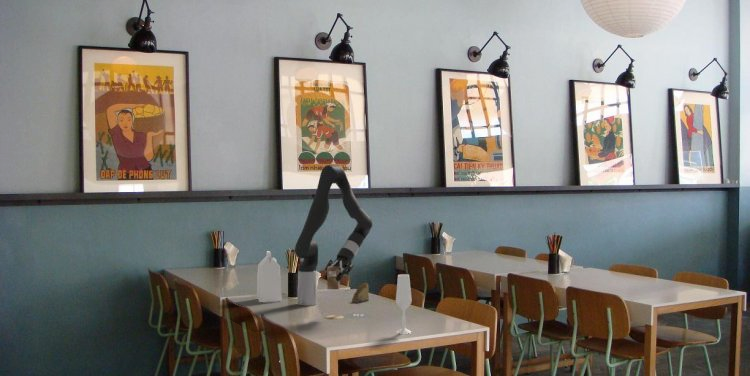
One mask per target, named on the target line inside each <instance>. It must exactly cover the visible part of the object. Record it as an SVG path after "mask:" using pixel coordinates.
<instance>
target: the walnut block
mask: <svg viewBox="0 0 750 376" xmlns="http://www.w3.org/2000/svg"><path fill="white" fill-rule="evenodd" d="M326 272H327V280H326V281H327V284H326V289H327V290H339V289H340V288H341V285H340V284H341V282H340V281H341V280H340V281H337V280H336V277H337V275H338V274H339V273H340V269H339V267H337V266H329V267H327V271H326Z"/></svg>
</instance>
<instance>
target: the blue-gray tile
mask: <svg viewBox="0 0 750 376" xmlns="http://www.w3.org/2000/svg"><path fill="white" fill-rule="evenodd" d="M372 316H373V312H347V313H346V314H345V316H344V318H355V319H356V318H357V319H358V318H362V319H364V318H366V319H369V318H370V319H371V317H372Z"/></svg>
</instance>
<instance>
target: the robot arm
mask: <svg viewBox="0 0 750 376" xmlns="http://www.w3.org/2000/svg"><path fill="white" fill-rule="evenodd" d="M333 184H336V186H337V187H338V188H339V191H340V193H341V196H342V197H341V198H342V204H343V207H344V209H345V211H346V212H347V214H348V216H349V217H350V218H351V219H354V220H355V221H356V223H357V224H356V226H355V227H354V229H353V231H352V233H350V234H349V236H348V238H347V239H346V241H345V242H344V244H343V245H342V246H341V248H340V250H339V252H338V253H337V254H336V259H335V260H332V259H330V260H329V261H328V262H327V263H326V266H325V267H324V270H325V271H326V273H325V274H324V275H323V278H324V280H325V281H327V267H329V266H337V267H339V269H340V273H339V274H338V275H337V277H336V280H337V281H341V280H342V278H343V277H344V276H345V275H346V276H348V275H349V274H350V272H351V271H352V270H353V267H354V266H355V265H354V263H353V260H354V258H355V257H356V256H357V253H358V252H359V250H360V248H361V246H362V245H363V242H364V241H365V240H366V238H367V236H368V235H369V233H370V232H371V230H372V227H373V220H372V219H371V217H370V216H369V215H368V213H367V212H366V211H365V210H364V209H363V208H362V206H361V204H360V203H359V201H358V199H357V198H356V196H355V194H354V192H353V188H352V186H351V184H350V182H349V179H348V177H347V173H346V172H345V170H344V168H343V167H342V166H341V165H337V164H328V165H325V166H324V167H323V168H322V170H321V172H320V175H319V179H318V184H317V188H316V191H315V194H314V197H313V200H312V203H311V205H310V207H309V211H308V215H307V218H306V220H305V223H304V225H303V227H302V230H301V233H300V235H299V237H298V239H297V241H296V243H295V246H294V253H295V256H296V257H297V258H298V259H303V260H302V262H301V263H300V264H299V265H298V267H297V268H298V269H297V271H298V272H297V273H298V275H297V276H298V278H297V279H298V280H297V281H298V282H297V289H296V290H297V306H305V307H306V306H309V307H310V306H315V305H317V302H318V300H317V267H318V264H319V263H318V262H319V246H318V244H317V241H315V239H313V238H314V236H315V235H316V233H317V232H318V231H319V230H320V228H321V227H322V226H323V225H324V223H325V222H326V220H327V217H328V214H329V211H330V199H329V193H330V191H331V187H332V185H333Z"/></svg>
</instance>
